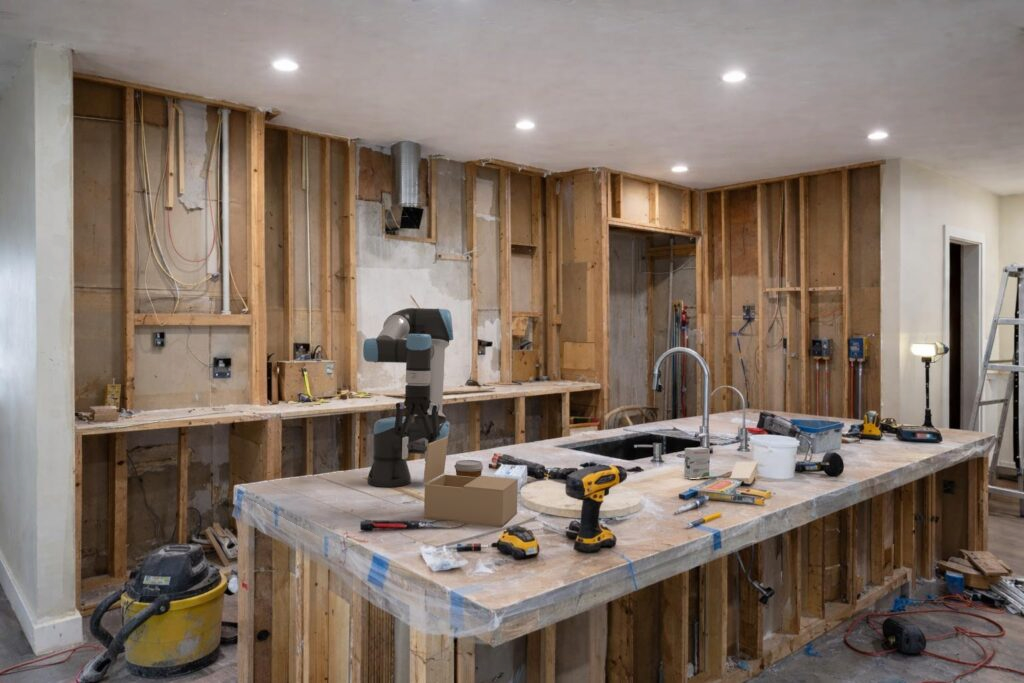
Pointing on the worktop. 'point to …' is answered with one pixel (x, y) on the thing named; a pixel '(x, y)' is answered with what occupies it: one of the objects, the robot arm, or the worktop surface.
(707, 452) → the ink box
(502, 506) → the carton
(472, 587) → the worktop surface
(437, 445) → the flap
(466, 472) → the disposable coffee cup
